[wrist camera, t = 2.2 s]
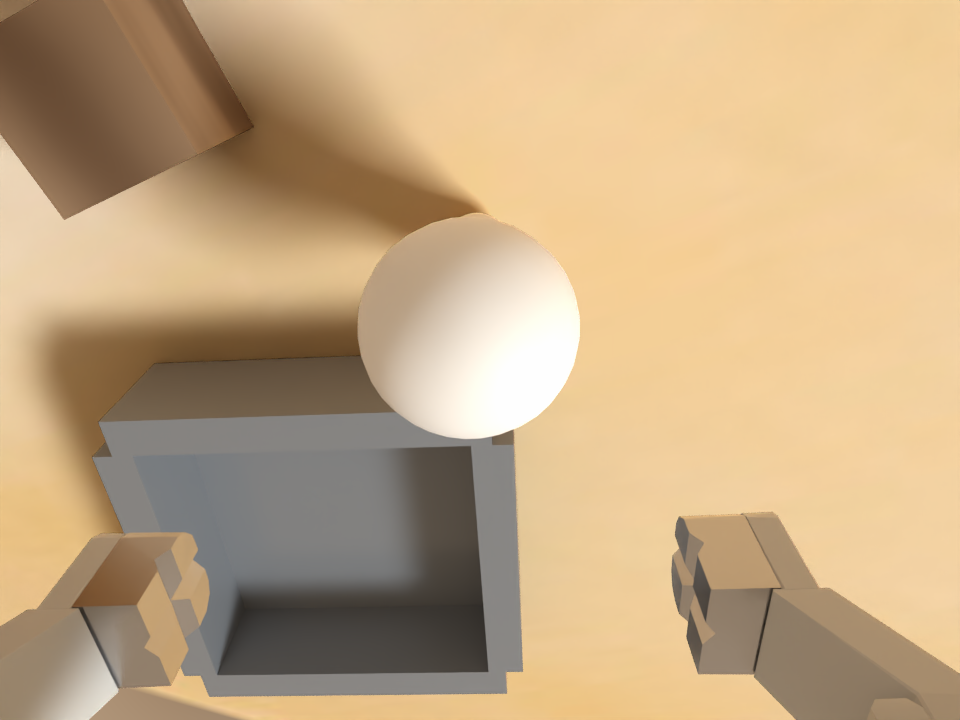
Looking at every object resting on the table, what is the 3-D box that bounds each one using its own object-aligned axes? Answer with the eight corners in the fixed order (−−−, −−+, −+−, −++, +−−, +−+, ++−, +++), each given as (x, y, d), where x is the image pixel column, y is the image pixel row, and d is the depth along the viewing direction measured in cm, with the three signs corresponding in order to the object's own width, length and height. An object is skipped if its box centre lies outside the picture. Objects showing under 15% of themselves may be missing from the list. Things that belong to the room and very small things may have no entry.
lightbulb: (514, 333, 27) (522, 516, 17) (376, 274, 26) (302, 435, 16) (586, 200, 24) (642, 329, 15) (434, 128, 23) (387, 217, 14)
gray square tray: (510, 350, 27) (512, 408, 23) (521, 615, 35) (523, 693, 31) (136, 364, 28) (77, 422, 24) (227, 620, 36) (193, 696, 32)
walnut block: (171, -21, 21) (85, -28, 17) (254, 126, 23) (198, 154, 19) (52, 46, 22) (-58, 56, 18) (142, 181, 25) (64, 219, 20)
